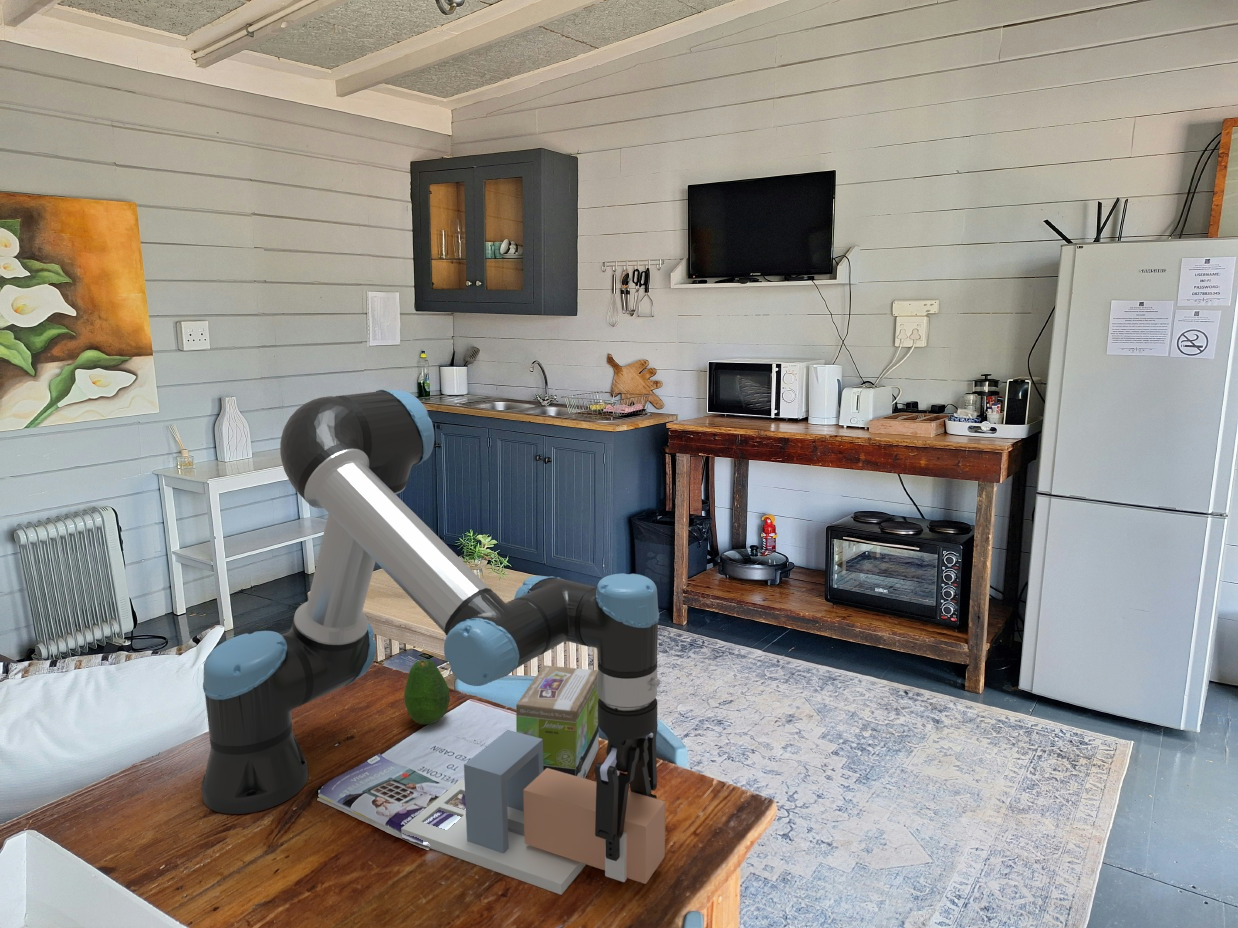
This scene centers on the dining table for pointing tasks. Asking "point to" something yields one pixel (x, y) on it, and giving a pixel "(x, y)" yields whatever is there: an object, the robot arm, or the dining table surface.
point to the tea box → (562, 717)
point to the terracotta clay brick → (590, 823)
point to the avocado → (426, 693)
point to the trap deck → (497, 816)
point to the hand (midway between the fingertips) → (627, 861)
